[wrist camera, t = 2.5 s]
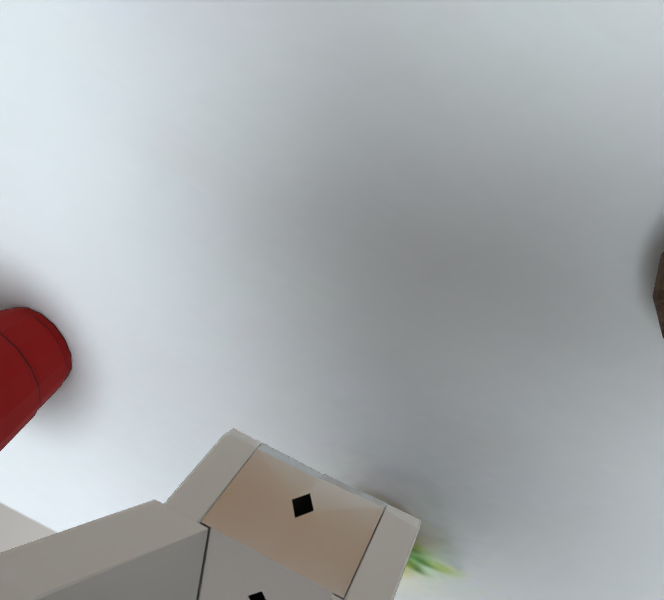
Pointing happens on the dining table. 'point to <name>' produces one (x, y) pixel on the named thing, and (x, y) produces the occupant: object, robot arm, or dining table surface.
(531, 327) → the dining table surface
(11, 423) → the plastic cup
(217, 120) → the dining table surface
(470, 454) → the dining table surface
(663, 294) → the mushroom
